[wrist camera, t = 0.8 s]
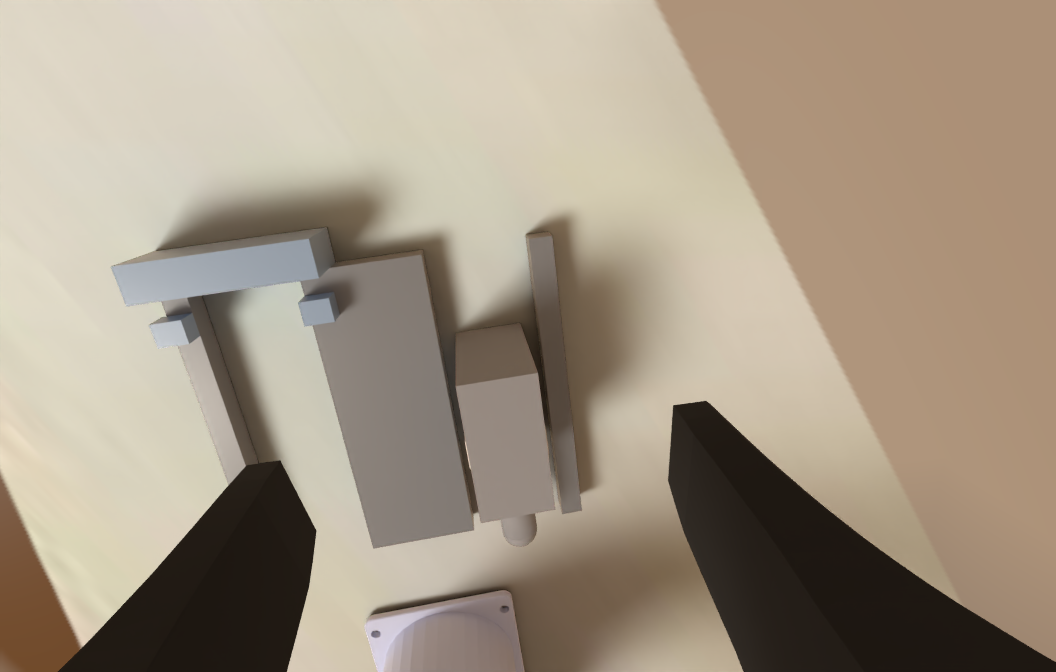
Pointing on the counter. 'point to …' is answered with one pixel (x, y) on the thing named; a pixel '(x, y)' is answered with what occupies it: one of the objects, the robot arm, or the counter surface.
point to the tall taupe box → (504, 429)
